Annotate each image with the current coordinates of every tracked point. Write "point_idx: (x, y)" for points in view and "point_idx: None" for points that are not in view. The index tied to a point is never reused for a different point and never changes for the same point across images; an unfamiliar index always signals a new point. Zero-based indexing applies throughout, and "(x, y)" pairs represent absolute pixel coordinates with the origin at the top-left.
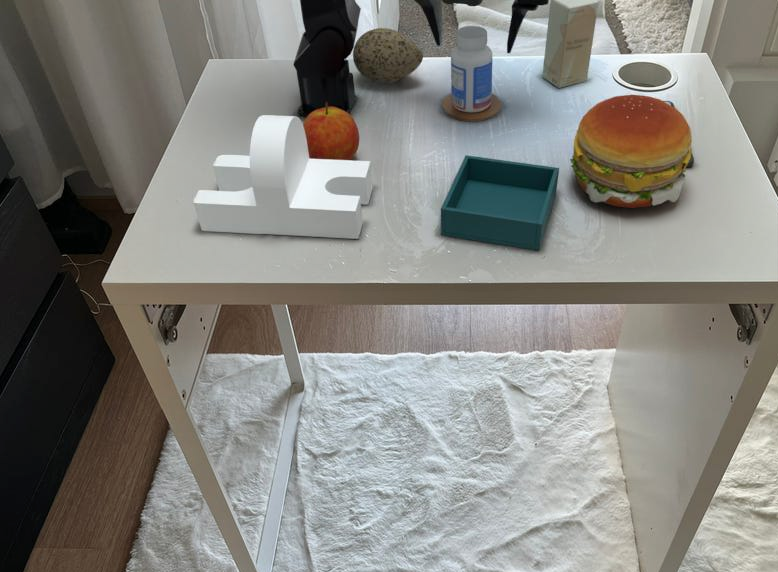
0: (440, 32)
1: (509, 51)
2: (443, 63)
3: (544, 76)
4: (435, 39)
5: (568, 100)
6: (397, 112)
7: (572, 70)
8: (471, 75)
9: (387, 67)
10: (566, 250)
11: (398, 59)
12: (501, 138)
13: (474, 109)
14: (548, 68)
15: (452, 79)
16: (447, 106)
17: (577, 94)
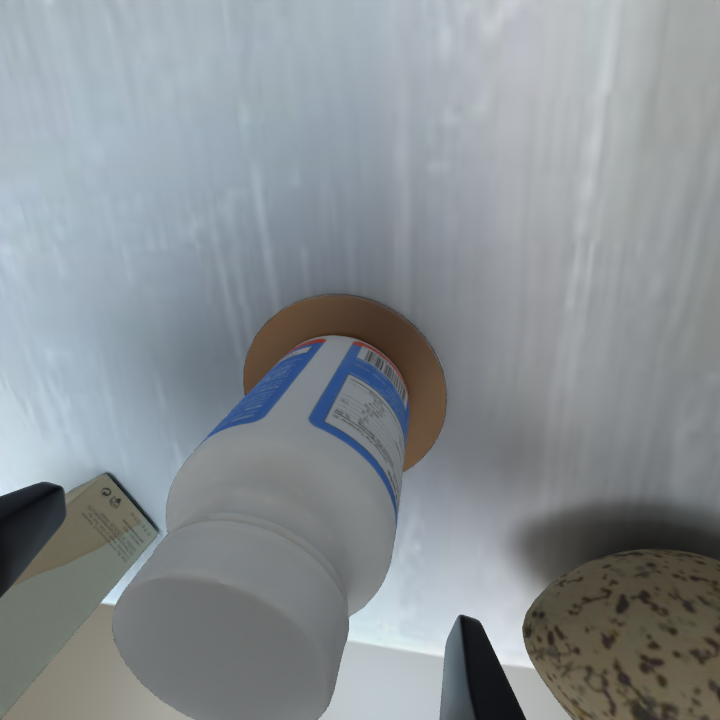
0: (456, 716)
1: (37, 487)
2: (437, 633)
3: (149, 528)
4: (494, 661)
5: (71, 413)
6: (631, 368)
7: None
8: (288, 399)
9: (702, 589)
10: None
11: (655, 621)
12: (221, 172)
13: (321, 337)
14: (117, 539)
15: (396, 435)
16: (426, 386)
17: (57, 441)
